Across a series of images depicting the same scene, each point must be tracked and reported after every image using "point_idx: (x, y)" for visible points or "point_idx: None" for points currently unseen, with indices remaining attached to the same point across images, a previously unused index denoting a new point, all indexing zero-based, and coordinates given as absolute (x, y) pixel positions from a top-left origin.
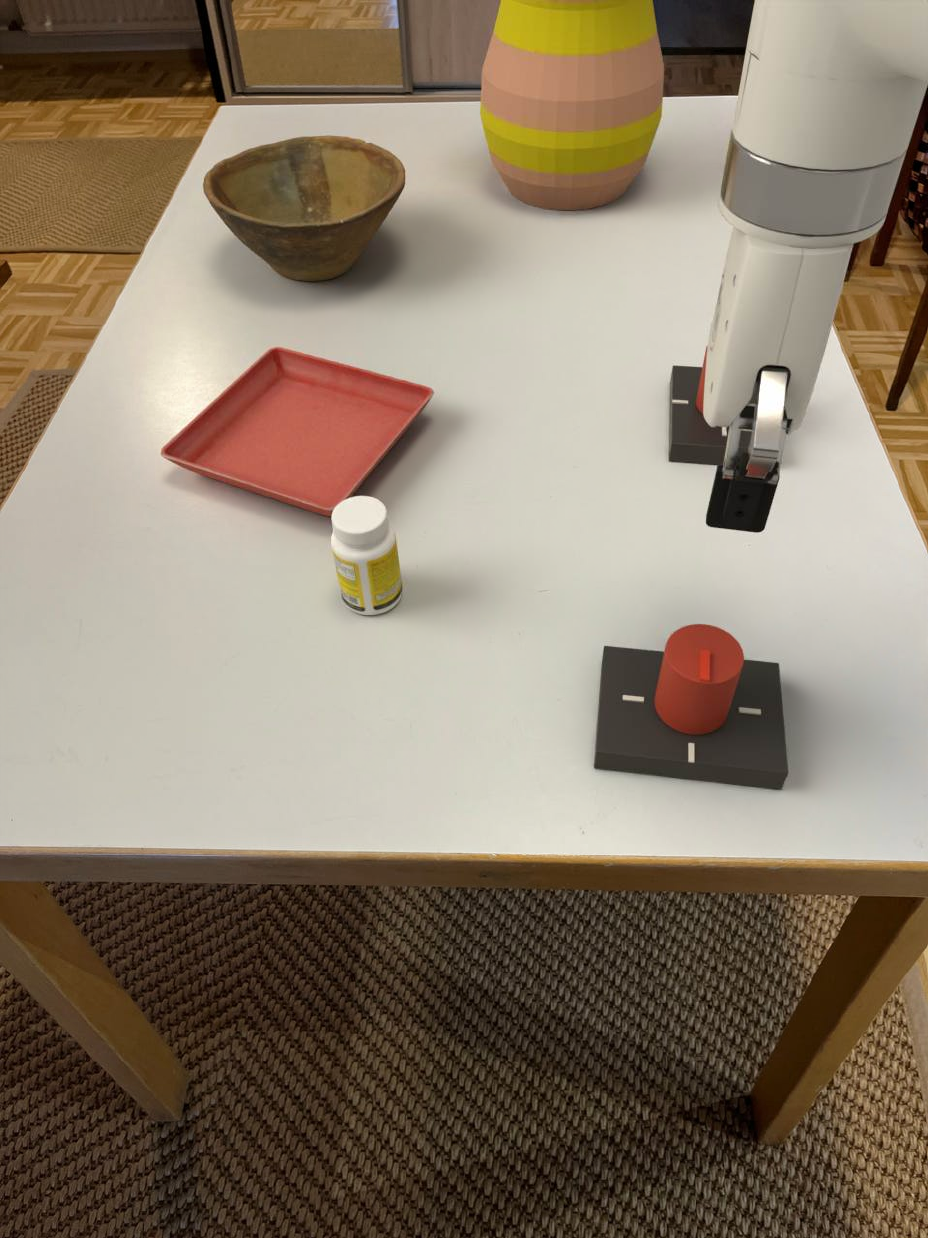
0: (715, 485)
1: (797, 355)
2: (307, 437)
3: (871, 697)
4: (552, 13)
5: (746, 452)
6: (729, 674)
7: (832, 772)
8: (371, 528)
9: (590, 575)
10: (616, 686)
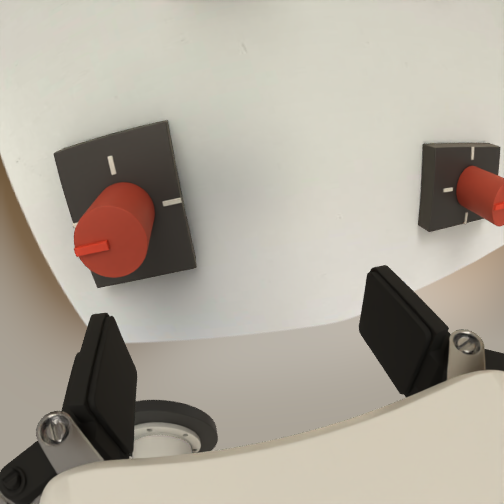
0: (76, 377)
1: None
2: None
3: (204, 315)
4: None
5: (25, 502)
6: (95, 269)
7: (131, 302)
8: None
9: (276, 86)
10: (120, 146)
